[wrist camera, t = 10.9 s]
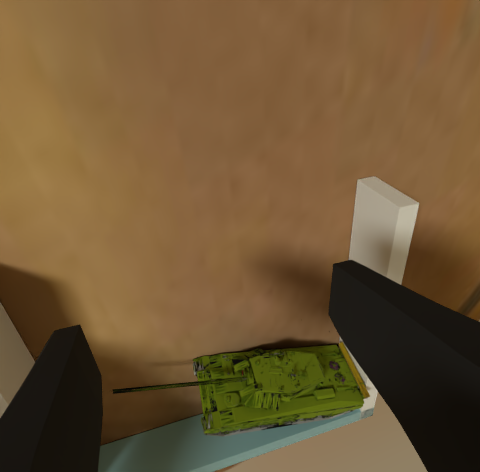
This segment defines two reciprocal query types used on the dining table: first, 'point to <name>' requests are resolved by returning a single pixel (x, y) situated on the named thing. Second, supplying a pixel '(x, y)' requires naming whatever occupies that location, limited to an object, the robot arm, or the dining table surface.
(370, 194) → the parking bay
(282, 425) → the toy tank
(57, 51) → the dining table surface
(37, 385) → the robot arm
